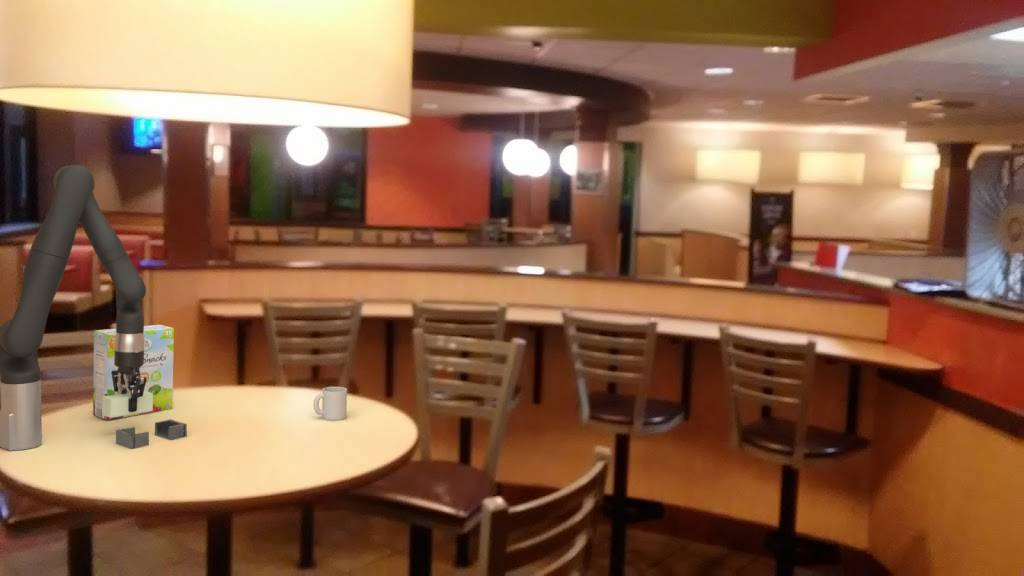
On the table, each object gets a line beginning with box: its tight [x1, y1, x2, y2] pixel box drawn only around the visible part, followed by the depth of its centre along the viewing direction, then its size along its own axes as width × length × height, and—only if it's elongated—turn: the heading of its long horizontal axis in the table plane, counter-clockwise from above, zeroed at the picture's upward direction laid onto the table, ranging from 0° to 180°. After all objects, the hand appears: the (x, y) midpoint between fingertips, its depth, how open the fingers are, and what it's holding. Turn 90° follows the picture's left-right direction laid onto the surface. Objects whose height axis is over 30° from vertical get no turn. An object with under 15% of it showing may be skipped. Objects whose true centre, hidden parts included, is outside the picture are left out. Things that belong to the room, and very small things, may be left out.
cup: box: [313, 386, 348, 422], centre depth 276 cm, size 7×10×9 cm
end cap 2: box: [154, 418, 188, 441], centre depth 252 cm, size 5×7×4 cm
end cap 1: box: [115, 427, 150, 450], centre depth 242 cm, size 5×7×4 cm
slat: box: [102, 391, 153, 418], centre depth 251 cm, size 12×4×5 cm, turn 144°
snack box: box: [92, 324, 175, 421], centre depth 273 cm, size 22×9×26 cm, turn 143°
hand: (127, 409), depth 251 cm, fingers closed on slat, 4 cm apart
